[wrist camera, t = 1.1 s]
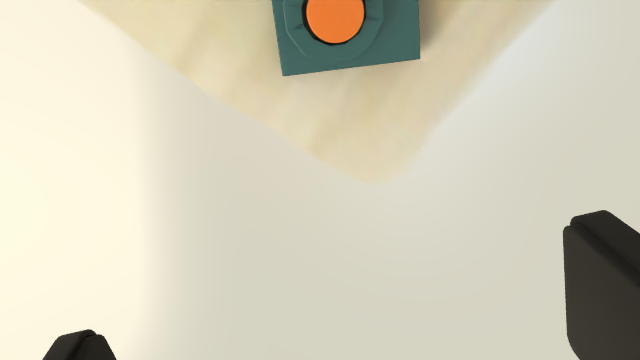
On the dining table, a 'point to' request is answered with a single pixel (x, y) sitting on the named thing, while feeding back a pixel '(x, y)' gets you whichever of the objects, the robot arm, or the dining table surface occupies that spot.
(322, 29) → the orange button cap
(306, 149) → the dining table surface
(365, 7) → the button base
